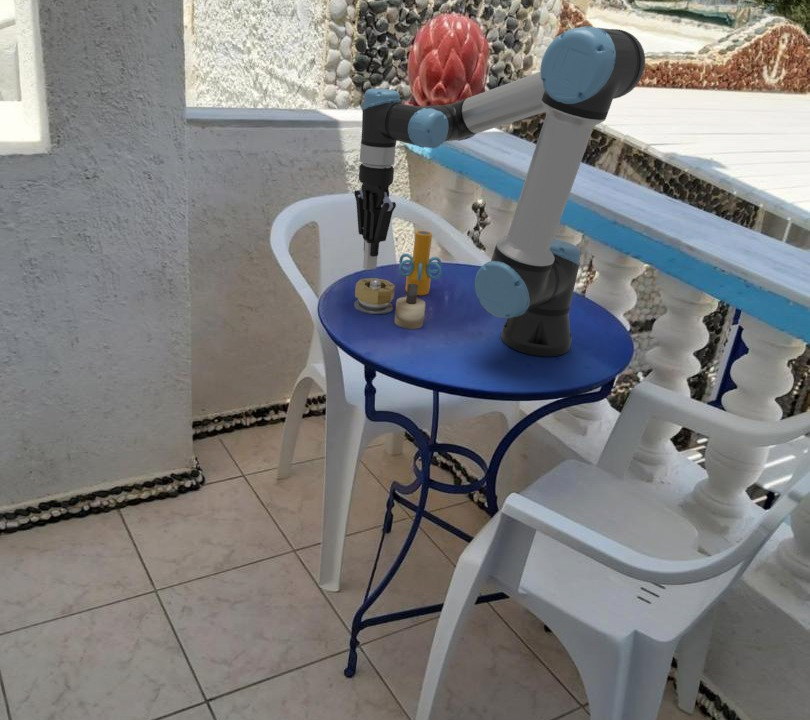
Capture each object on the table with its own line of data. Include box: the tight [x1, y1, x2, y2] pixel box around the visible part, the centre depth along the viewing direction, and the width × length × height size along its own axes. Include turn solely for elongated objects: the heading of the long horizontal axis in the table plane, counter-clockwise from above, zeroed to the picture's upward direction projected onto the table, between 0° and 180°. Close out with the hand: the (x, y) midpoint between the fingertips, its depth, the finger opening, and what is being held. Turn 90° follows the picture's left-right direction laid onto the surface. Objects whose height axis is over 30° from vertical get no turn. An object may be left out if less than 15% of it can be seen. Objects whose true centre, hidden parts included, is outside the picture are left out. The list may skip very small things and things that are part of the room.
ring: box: [354, 277, 396, 304], centre depth 176 cm, size 8×8×3 cm
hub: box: [353, 278, 394, 316], centre depth 177 cm, size 9×9×7 cm
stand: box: [394, 284, 426, 330], centre depth 170 cm, size 6×6×9 cm
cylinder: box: [398, 229, 442, 296], centre depth 187 cm, size 12×10×15 cm
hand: (369, 268), depth 176 cm, fingers closed
